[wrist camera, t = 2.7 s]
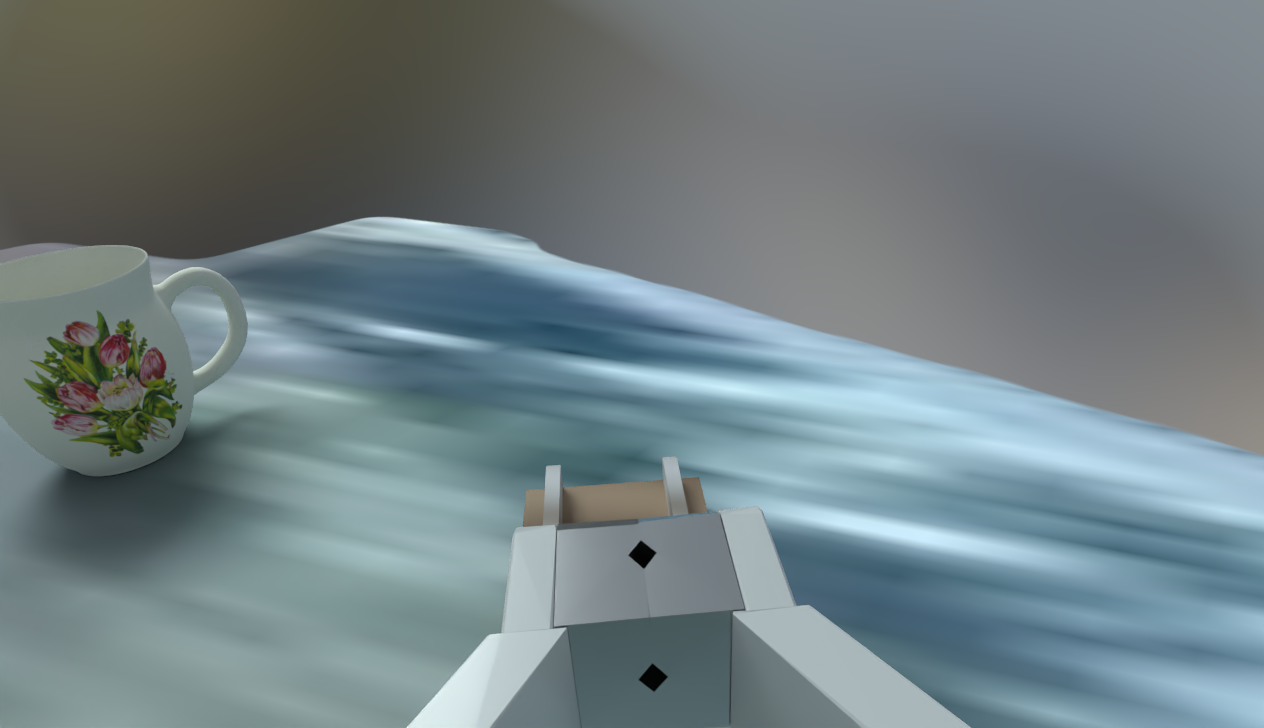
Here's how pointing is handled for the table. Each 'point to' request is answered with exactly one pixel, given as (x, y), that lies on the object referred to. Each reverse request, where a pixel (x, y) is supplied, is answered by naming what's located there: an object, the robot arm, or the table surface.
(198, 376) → the pitcher
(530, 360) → the table surface
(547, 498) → the fader track
